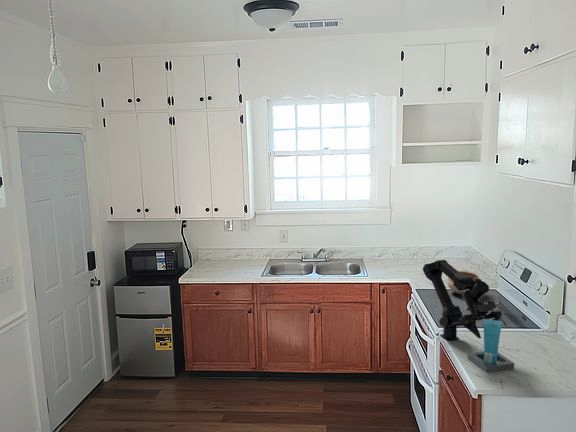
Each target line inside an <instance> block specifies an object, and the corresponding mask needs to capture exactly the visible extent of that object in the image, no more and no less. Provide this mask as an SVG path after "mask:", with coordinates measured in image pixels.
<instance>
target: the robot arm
mask: <svg viewBox="0 0 576 432" xmlns="http://www.w3.org/2000/svg"><path fill="white" fill-rule="evenodd" d="M422 271H423V273H424V275H425V277H426V278H427V280H429V281H430V282H432V285H433V288H434V289H435V292H436V294H437V297H438V299H439V301H440V304H441V306H442V312H441V314H442V317H440V319H439V320H438V322H439V325H440V326H441V327H442V328H443V330H442V334H441V333H440V335H439V336H440V337H442V339H444V340H446V341H447V342H448V341H455V340H460V337H458V336H457V335H458V333H457V332H458V331H457V329H458V328H457V327H463V328H466V329H467V330H469V332H471V333H472V334H473V335H475V336H476V338H477V339H479V340H480V339H481V338H482V337H481V333H480V331H479V329H478V327H477V321H483V319H489V320H495V321H500V319H502V317H503V316H504V315H503V313H502V311H501V310H494V309H496V308H497V306H496V303H495V301H494V300H491V301H488V302H487V303H484V302H483V301H481V300H480V299H482V297H484V296H485V295H486V294H487V293H489V292H490V287H489V284H487V283H486V282H485V281H483V280H482V279H481V278H479V279H476V280H475V281H474V280H473V279H472V278H471V277H469V276H467V275H464V274H461V273H459V272H458V271H459V270H457V268H454V267H453V266H452V265H451V264H449V262H448V261H447V260H446V259H438V260H435V261H433V262H430V263H425V264H424V266H423V267H422ZM443 274H444V275H445V276H447V278H450V279H451V280H452V281H453V285H454V286H455V287H456V288H457V289H458V290H459V291H462V290H467V291H465V292H462V295H460V299H464V302H465V303H466V306H467V308H466V310H467V311H469V312H470V313H469V314H464V315H463V312H462V311H461V308H460V306H459V305H455V304H453V301H452V299H451V296H450V295H449V292H448V289H447V287H446V285H445V283H444V280H443V279H442V276H443Z"/></svg>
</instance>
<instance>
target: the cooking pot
mask: <svg viewBox="0 0 576 432" xmlns="http://www.w3.org/2000/svg"><path fill="white" fill-rule="evenodd" d="M457 271H458V272H459V273H461V274H464V275H467V276H469V277H471V278H472V279H473V280H474V281H475V280H476V279H480V274H478V273H476V272H474V271H470V270H457ZM446 281H447V282H446V283H447V286H448V289H450V290H451V291H452V292H454V293H455V294H457V295H458V296H461V295H462V292H465V291H467V290H462V291H459V290H458V289H457V288H456V287H455V286H454V285H453V281H452V280H451V279H450V278H449V277H447V280H446Z"/></svg>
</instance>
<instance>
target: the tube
mask: <svg viewBox="0 0 576 432" xmlns="http://www.w3.org/2000/svg"><path fill="white" fill-rule="evenodd" d="M482 322H483V351H484V359H483V361H484V362H486V363H487V364H492V363H498V361H497V354H498V353H499V345H500V336H501V330H502V327H503V321H502V320H499V321H495V320H489V319H483V320H482Z"/></svg>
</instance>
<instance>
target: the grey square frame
mask: <svg viewBox="0 0 576 432" xmlns="http://www.w3.org/2000/svg"><path fill="white" fill-rule="evenodd" d="M467 359H468V360H469V361H470V362H471V363H472V364H474V365H475V364H476V365H475V366H477V367H478V368H480V369H481V370H482V371H483V370H484V372H485V373H486V372H487V373H493V372H501V371H507V370H508V371H509V370H514V369H515V362H513V361H512V360H510V359H509V358H507V357H505V356H504V355H503V354H502V353H500V352H498V354H497V363H492V364H487V363H486V362H484V350H482V351H474V352H468V353H467Z"/></svg>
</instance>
